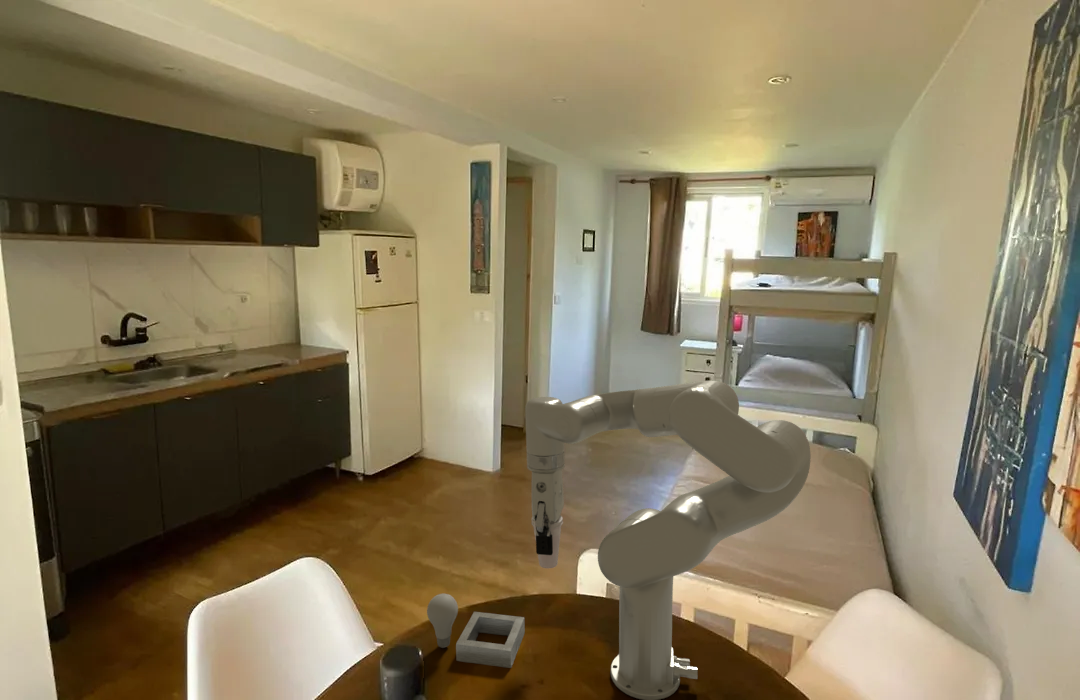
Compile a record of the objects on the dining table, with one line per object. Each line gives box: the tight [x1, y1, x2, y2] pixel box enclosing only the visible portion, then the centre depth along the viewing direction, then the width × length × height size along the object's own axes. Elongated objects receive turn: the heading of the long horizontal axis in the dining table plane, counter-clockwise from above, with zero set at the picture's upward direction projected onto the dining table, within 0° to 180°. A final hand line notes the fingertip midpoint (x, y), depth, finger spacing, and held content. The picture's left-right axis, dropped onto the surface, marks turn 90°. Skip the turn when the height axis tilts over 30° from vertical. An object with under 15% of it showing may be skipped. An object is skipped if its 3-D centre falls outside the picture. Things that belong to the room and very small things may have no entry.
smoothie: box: [531, 514, 564, 569], centre depth 113 cm, size 6×6×14 cm
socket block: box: [455, 611, 526, 669], centre depth 113 cm, size 11×11×4 cm
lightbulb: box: [426, 593, 459, 649], centre depth 112 cm, size 6×6×11 cm
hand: (548, 545), depth 113 cm, fingers closed on smoothie, 6 cm apart
